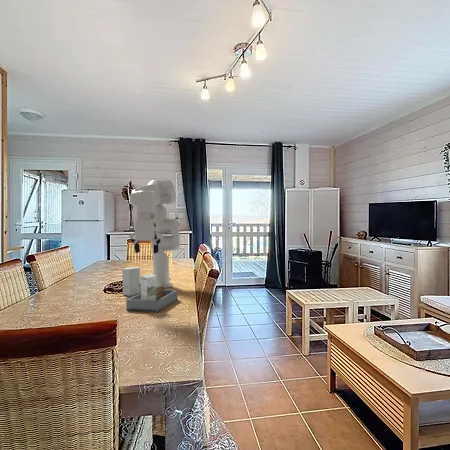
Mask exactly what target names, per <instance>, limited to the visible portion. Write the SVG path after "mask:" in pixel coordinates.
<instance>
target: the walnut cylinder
mask: <svg viewBox="0 0 450 450" xmlns="http://www.w3.org/2000/svg"><path fill="white" fill-rule="evenodd" d="M164 290H165V288H163V285H157V286H156V291H157V292H156V293H157V300H159V299H161V298H162V297H164Z"/></svg>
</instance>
